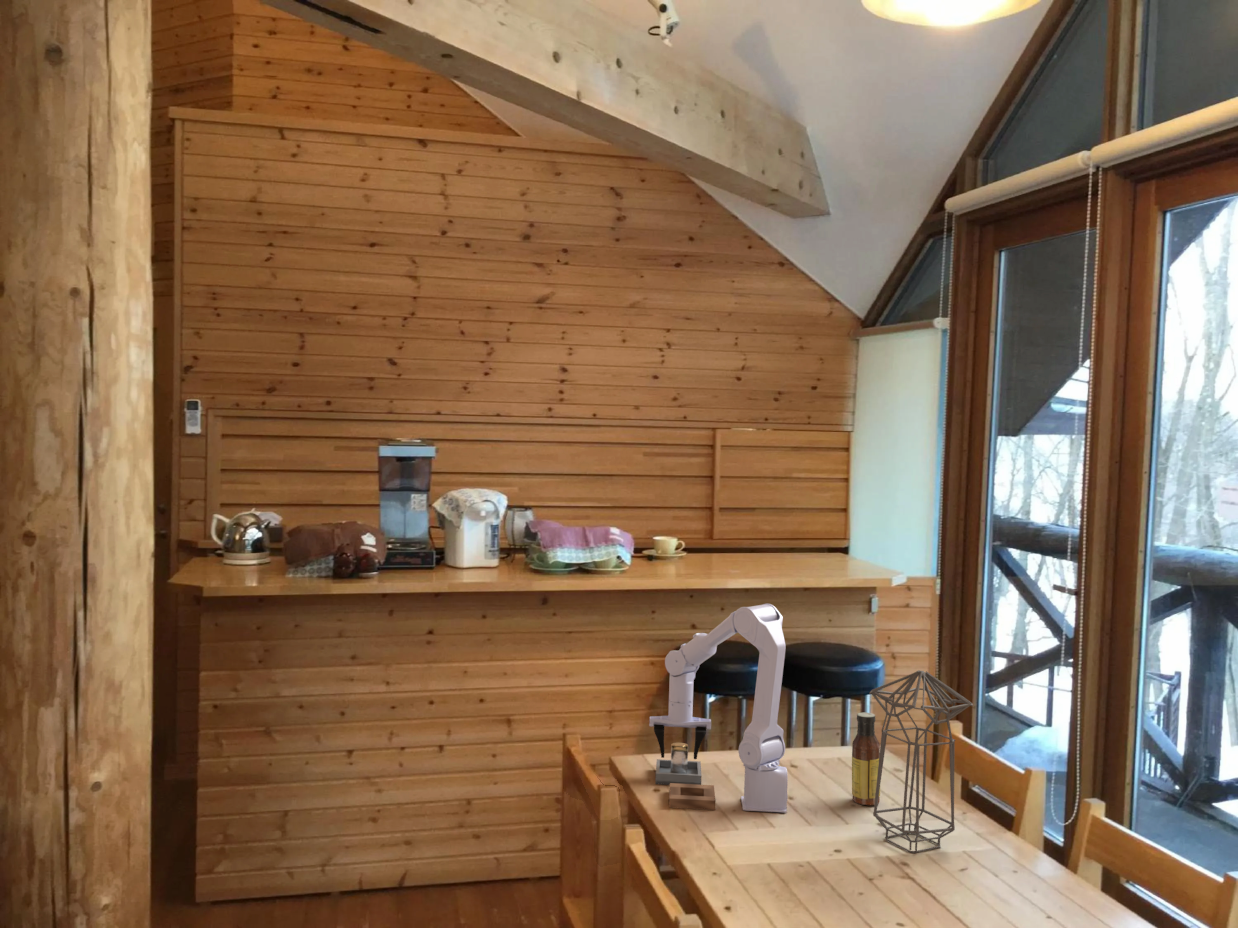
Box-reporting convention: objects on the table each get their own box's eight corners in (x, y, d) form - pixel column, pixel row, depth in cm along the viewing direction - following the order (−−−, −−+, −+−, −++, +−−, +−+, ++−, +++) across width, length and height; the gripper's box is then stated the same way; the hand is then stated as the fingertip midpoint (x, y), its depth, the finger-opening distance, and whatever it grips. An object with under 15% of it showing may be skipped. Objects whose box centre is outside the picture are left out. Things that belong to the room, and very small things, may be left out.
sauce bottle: (877, 797, 231) (880, 711, 230) (882, 807, 225) (885, 718, 224) (848, 796, 231) (851, 709, 231) (852, 805, 225) (855, 716, 225)
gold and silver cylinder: (687, 772, 242) (688, 742, 242) (687, 777, 238) (688, 747, 238) (670, 771, 242) (671, 742, 242) (670, 776, 238) (671, 746, 238)
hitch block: (713, 793, 230) (713, 785, 230) (715, 809, 220) (715, 800, 220) (669, 791, 230) (669, 782, 230) (669, 807, 220) (669, 798, 220)
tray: (700, 771, 245) (700, 761, 245) (701, 786, 235) (701, 775, 235) (656, 769, 246) (656, 759, 246) (655, 783, 235) (655, 773, 235)
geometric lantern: (857, 834, 209) (865, 664, 209) (917, 826, 215) (924, 661, 216) (909, 862, 195) (918, 680, 195) (971, 853, 201) (980, 677, 201)
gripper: (711, 697, 244) (709, 753, 244) (650, 694, 244) (648, 750, 245) (712, 704, 236) (710, 762, 237) (649, 701, 237) (648, 759, 238)
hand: (678, 757), depth 240 cm, fingers open, 7 cm apart
